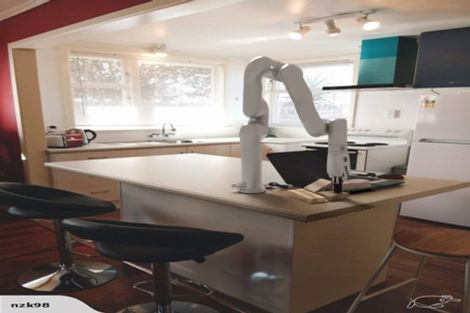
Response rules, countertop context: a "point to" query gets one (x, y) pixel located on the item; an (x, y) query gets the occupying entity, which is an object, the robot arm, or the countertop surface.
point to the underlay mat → (337, 199)
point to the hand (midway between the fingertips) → (337, 192)
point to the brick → (355, 184)
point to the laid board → (306, 196)
